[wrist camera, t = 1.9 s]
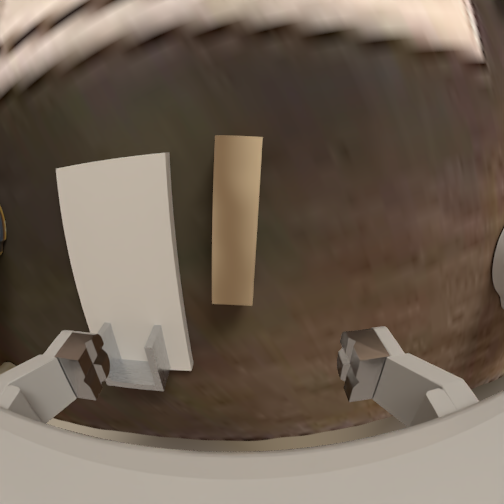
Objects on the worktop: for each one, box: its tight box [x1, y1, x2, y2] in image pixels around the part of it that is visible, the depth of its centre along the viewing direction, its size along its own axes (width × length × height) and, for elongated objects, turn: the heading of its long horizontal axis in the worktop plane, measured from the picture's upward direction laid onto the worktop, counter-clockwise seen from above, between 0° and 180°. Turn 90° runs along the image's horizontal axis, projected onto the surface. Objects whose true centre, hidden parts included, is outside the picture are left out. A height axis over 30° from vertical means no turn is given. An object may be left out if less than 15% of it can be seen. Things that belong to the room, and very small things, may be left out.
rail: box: [212, 135, 263, 306], centre depth 26 cm, size 4×14×5 cm, turn 177°
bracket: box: [56, 152, 193, 391], centre depth 27 cm, size 12×24×6 cm, turn 1°
